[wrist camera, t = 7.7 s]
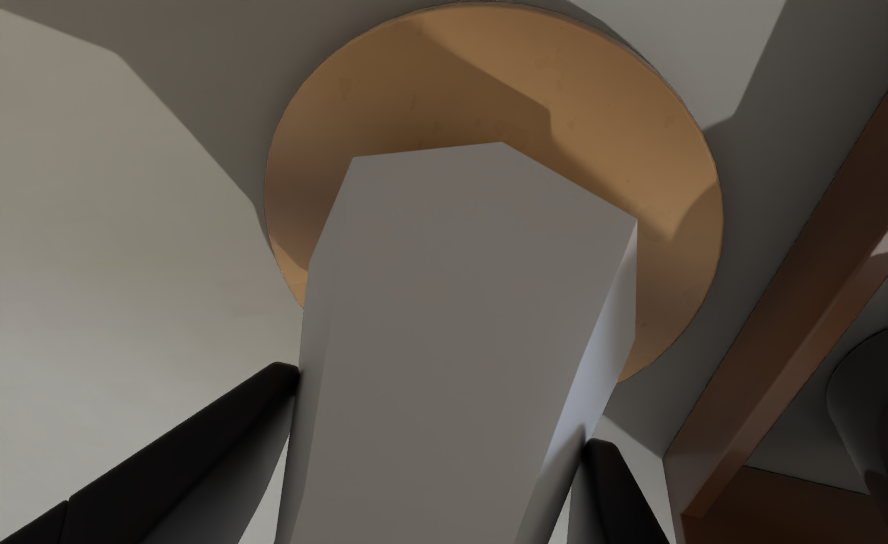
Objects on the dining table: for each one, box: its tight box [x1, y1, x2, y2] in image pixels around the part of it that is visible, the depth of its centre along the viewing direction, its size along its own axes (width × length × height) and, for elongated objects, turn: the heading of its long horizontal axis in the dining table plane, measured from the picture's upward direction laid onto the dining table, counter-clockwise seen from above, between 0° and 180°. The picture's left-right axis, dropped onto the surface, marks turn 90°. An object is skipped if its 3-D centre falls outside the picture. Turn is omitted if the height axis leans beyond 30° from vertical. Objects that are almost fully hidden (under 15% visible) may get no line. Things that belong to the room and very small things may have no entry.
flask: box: [274, 142, 637, 544], centre depth 8 cm, size 7×7×10 cm
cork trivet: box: [264, 1, 724, 385], centre depth 13 cm, size 11×11×1 cm
